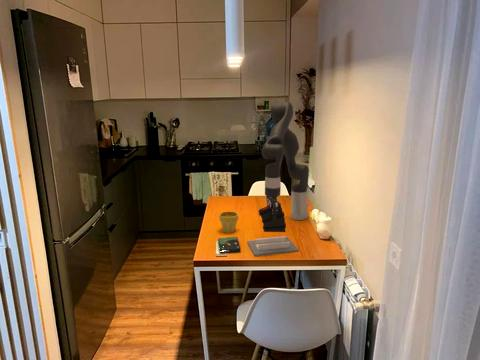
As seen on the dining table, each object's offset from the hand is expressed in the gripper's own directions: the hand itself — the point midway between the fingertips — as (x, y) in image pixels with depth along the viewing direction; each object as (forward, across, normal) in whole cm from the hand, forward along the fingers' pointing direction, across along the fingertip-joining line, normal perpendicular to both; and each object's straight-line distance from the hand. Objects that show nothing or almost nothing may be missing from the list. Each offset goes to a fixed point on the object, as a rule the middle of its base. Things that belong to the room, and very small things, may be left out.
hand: (272, 218), depth 182 cm
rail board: (+15, 0, 0) cm, 15 cm away
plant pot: (+15, +27, +17) cm, 35 cm away
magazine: (+7, 0, 0) cm, 7 cm away
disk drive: (+16, +6, +21) cm, 27 cm away
